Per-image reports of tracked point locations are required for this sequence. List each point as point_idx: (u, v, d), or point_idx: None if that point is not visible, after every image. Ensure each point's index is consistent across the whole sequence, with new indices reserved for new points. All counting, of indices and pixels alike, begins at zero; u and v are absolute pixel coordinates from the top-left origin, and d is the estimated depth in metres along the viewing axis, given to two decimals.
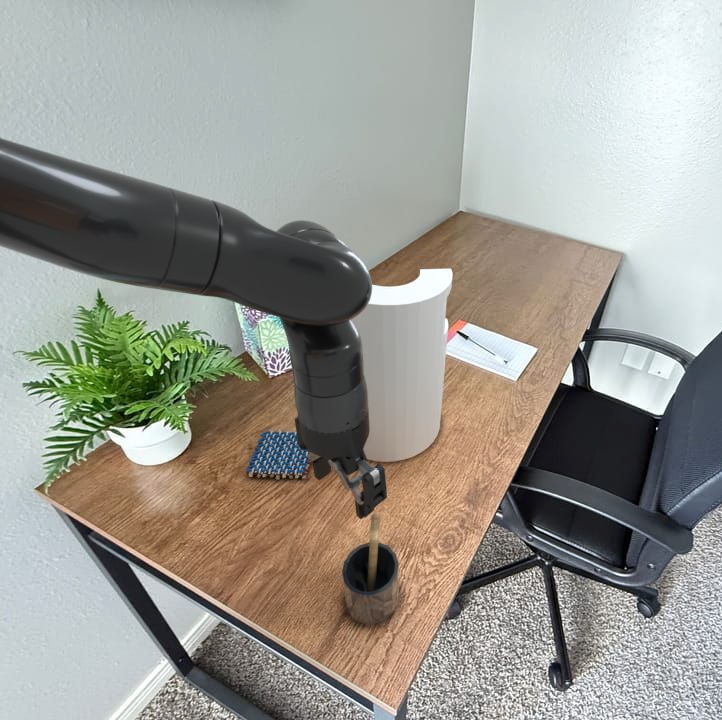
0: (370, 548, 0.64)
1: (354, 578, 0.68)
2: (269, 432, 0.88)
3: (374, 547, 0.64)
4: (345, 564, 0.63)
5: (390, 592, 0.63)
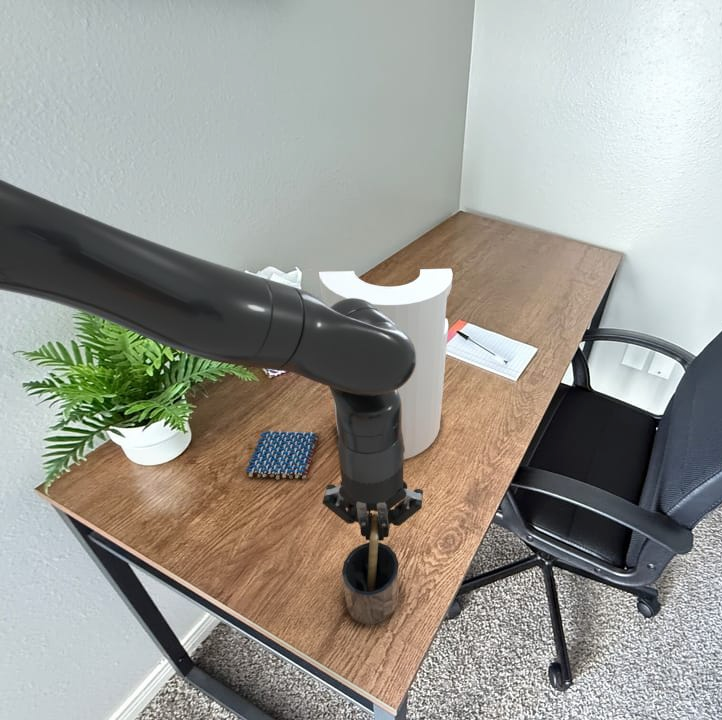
0: (370, 548, 0.64)
1: (354, 578, 0.68)
2: (269, 432, 0.88)
3: (374, 547, 0.64)
4: (345, 564, 0.63)
5: (390, 592, 0.63)
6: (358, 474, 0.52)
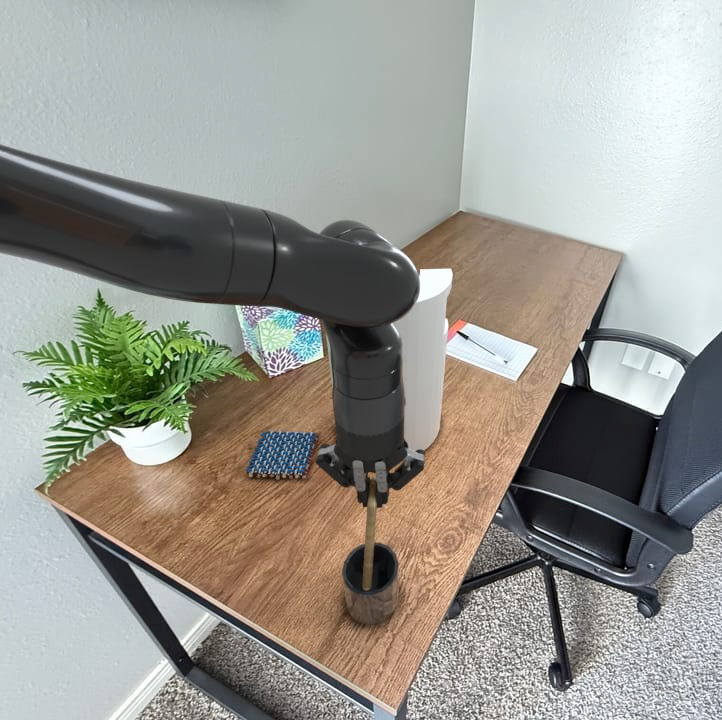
0: (368, 515, 0.59)
1: (354, 578, 0.68)
2: (269, 432, 0.88)
3: (372, 514, 0.59)
4: (345, 564, 0.63)
5: (390, 592, 0.63)
6: (354, 425, 0.47)
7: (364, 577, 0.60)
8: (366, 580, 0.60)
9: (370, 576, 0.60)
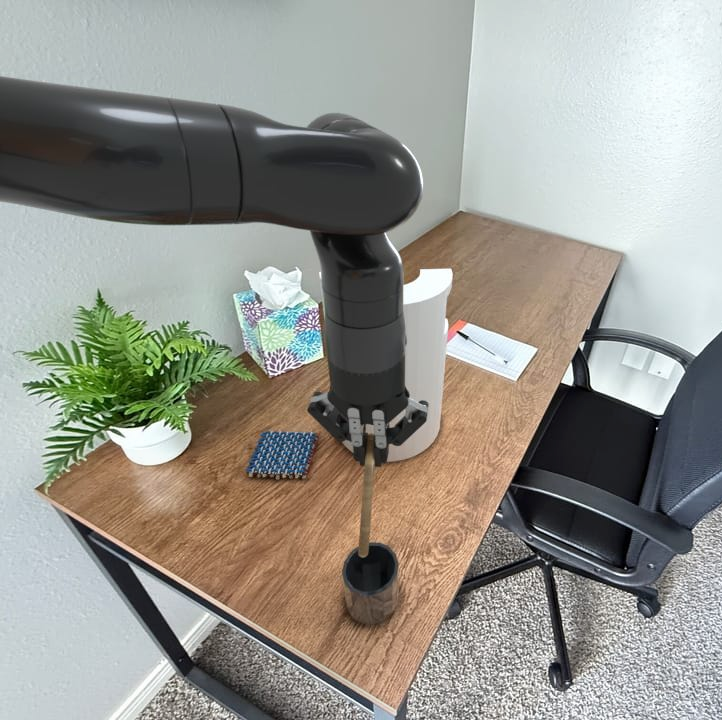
0: (365, 474, 0.54)
1: (354, 578, 0.68)
2: (269, 432, 0.88)
3: (369, 473, 0.54)
4: (345, 564, 0.63)
5: (390, 592, 0.63)
6: (348, 360, 0.42)
7: (360, 542, 0.55)
8: (362, 546, 0.55)
9: (367, 541, 0.55)
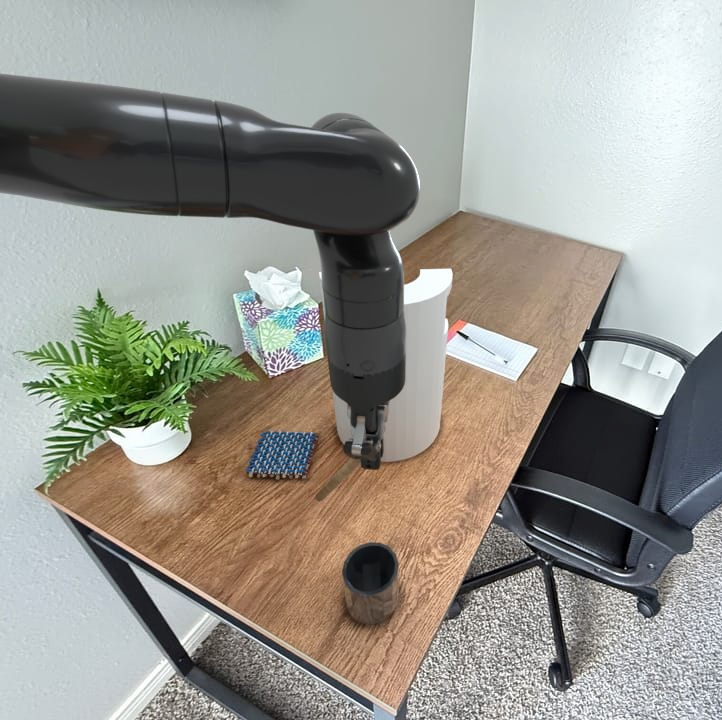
0: None
1: (354, 578, 0.68)
2: (269, 432, 0.88)
3: None
4: (345, 564, 0.63)
5: (390, 592, 0.63)
6: None
7: None
8: (319, 491, 0.60)
9: (321, 492, 0.59)
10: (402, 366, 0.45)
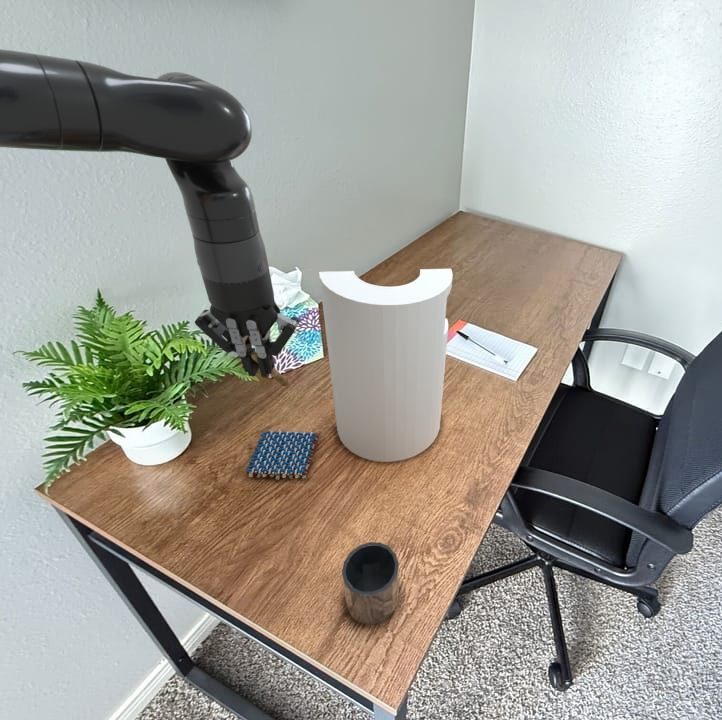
0: None
1: (354, 578, 0.68)
2: (269, 432, 0.88)
3: None
4: (345, 564, 0.63)
5: (390, 592, 0.63)
6: None
7: (284, 377, 0.77)
8: None
9: None
10: (217, 288, 0.55)
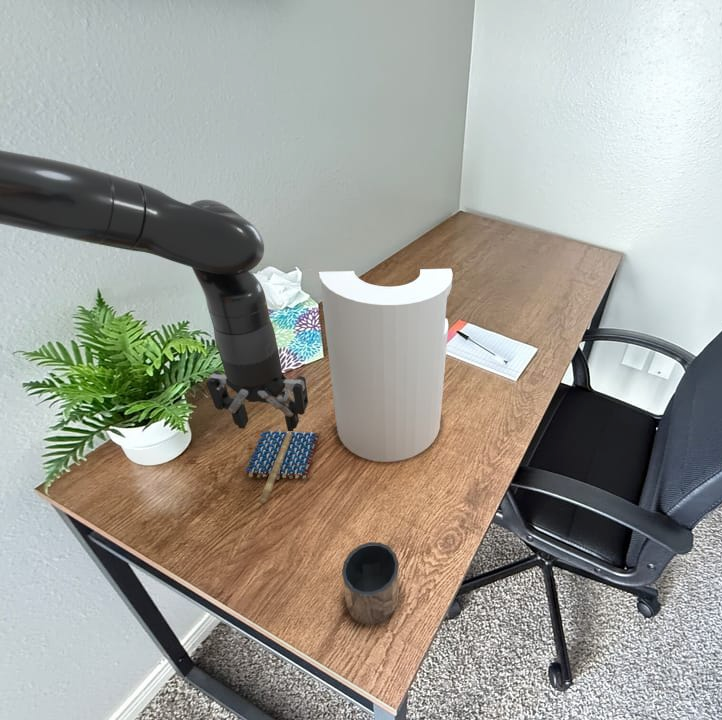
0: (274, 477, 0.79)
1: (354, 578, 0.68)
2: (269, 432, 0.88)
3: (270, 477, 0.79)
4: (345, 564, 0.63)
5: (390, 592, 0.63)
6: None
7: (288, 440, 0.86)
8: (287, 438, 0.86)
9: (284, 440, 0.85)
10: (233, 368, 0.64)
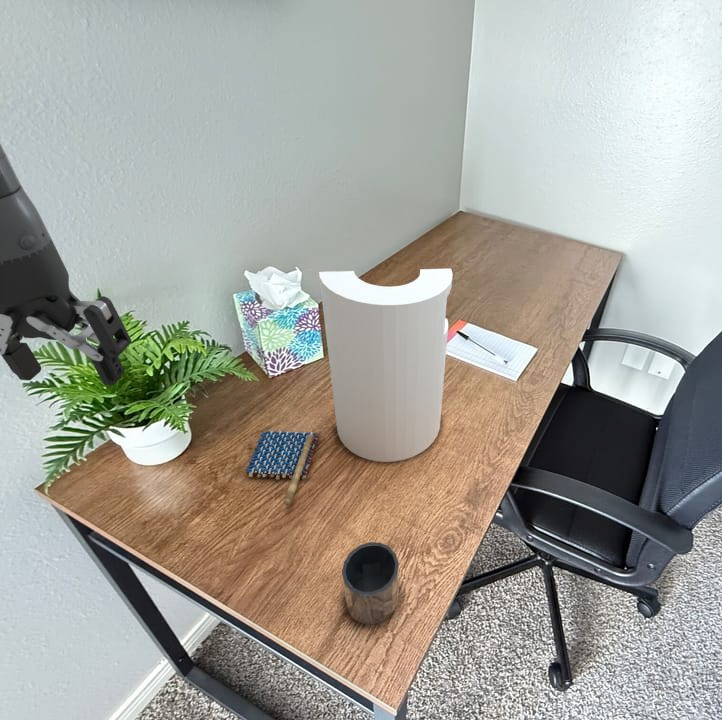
0: (298, 479, 0.79)
1: (354, 578, 0.68)
2: (269, 432, 0.88)
3: (295, 479, 0.79)
4: (345, 564, 0.63)
5: (390, 592, 0.63)
6: None
7: (311, 441, 0.86)
8: (310, 439, 0.86)
9: (306, 441, 0.86)
10: None
